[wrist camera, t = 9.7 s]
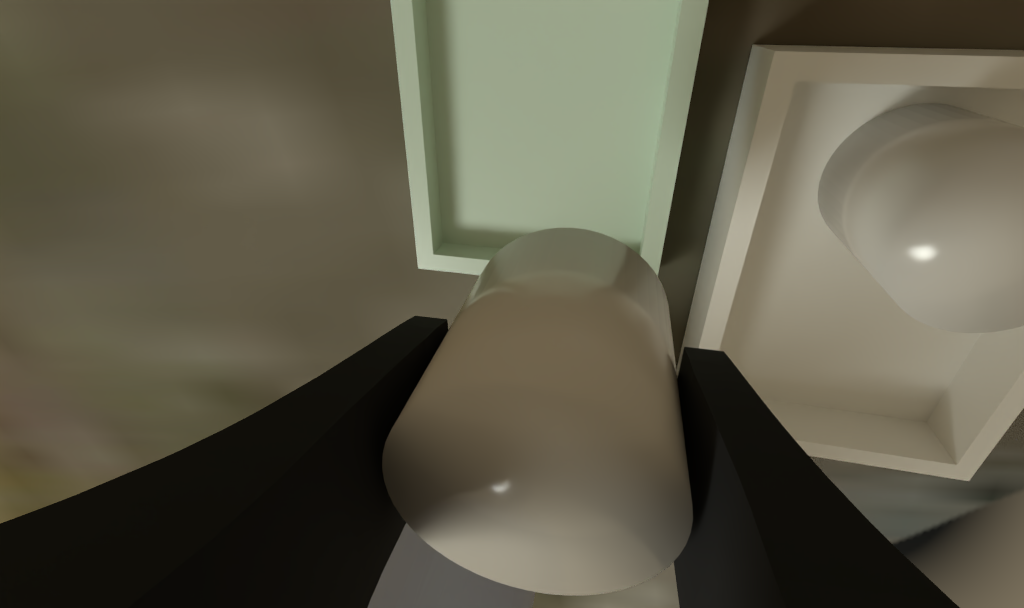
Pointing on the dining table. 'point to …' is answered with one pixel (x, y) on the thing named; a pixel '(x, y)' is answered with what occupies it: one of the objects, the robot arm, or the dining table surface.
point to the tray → (542, 120)
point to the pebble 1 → (550, 423)
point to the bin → (847, 268)
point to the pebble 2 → (935, 213)
